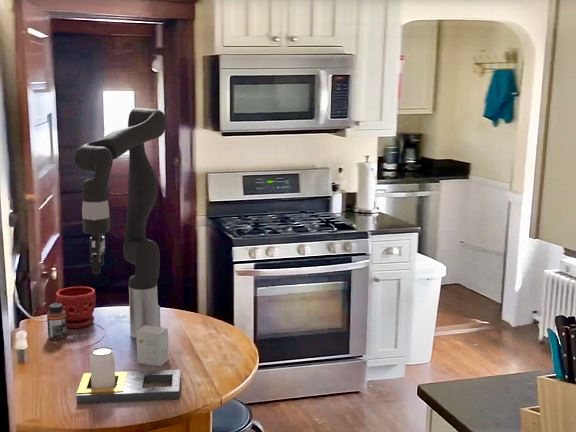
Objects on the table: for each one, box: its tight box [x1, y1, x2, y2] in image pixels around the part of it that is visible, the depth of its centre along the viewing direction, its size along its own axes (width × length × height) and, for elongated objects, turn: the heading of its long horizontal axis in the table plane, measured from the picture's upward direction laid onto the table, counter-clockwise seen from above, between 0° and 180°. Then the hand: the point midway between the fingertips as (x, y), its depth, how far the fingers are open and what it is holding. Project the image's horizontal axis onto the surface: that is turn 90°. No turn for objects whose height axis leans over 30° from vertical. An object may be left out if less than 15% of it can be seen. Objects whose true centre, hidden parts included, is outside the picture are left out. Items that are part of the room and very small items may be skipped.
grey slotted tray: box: [75, 369, 181, 405], centre depth 196 cm, size 27×14×3 cm, turn 97°
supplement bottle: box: [46, 302, 68, 341], centre depth 232 cm, size 6×6×11 cm
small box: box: [135, 325, 170, 367], centre depth 214 cm, size 8×6×10 cm
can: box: [89, 346, 117, 389], centre depth 194 cm, size 6×6×12 cm
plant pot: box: [55, 286, 96, 329], centre depth 245 cm, size 13×13×12 cm
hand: (98, 269), depth 205 cm, fingers open, 8 cm apart
